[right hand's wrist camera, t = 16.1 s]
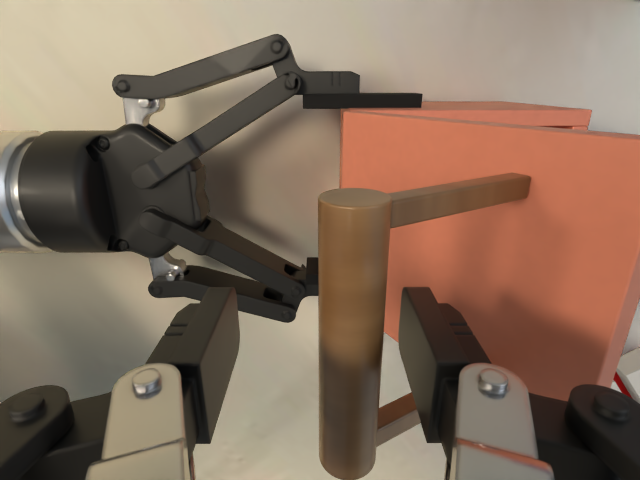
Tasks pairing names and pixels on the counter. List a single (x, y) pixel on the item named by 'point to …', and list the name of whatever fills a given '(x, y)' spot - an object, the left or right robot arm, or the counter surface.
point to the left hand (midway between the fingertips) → (409, 191)
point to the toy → (628, 375)
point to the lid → (472, 259)
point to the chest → (490, 115)
